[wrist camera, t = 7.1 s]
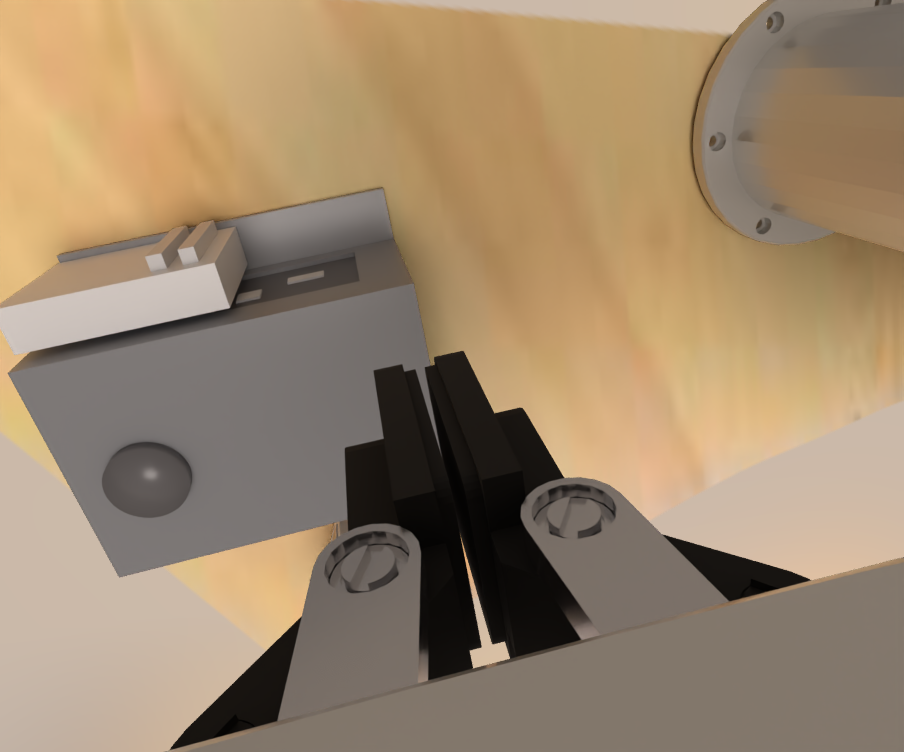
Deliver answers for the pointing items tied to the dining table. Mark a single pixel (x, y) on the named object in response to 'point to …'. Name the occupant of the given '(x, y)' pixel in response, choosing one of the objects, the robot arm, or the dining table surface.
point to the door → (126, 289)
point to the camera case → (235, 390)
